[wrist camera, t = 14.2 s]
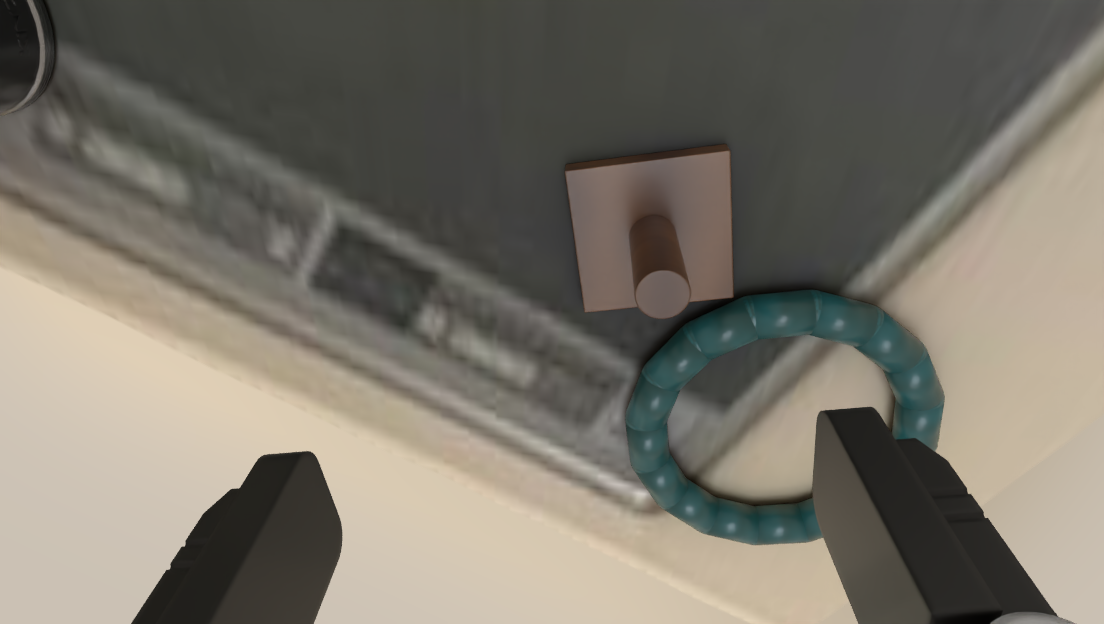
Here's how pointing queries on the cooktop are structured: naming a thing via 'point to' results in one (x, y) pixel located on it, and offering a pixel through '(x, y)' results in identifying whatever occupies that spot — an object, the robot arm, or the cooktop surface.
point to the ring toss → (653, 229)
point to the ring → (742, 326)
